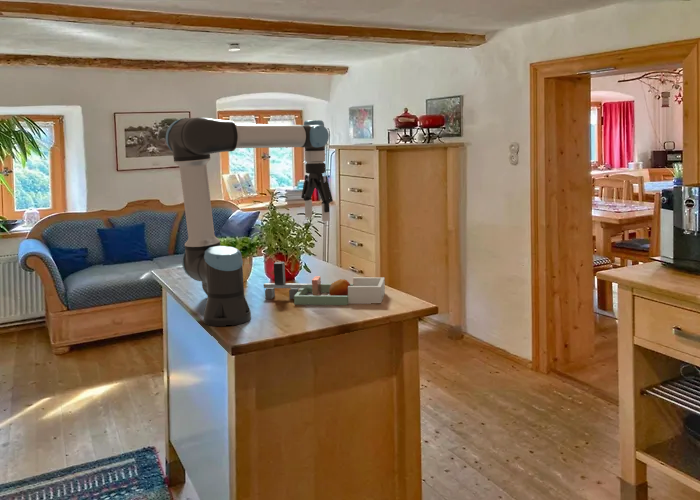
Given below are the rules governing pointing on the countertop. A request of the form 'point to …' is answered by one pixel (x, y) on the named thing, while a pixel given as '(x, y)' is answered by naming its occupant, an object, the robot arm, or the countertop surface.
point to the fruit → (339, 288)
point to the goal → (366, 290)
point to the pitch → (311, 296)
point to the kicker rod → (280, 283)
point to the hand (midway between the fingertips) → (317, 219)
